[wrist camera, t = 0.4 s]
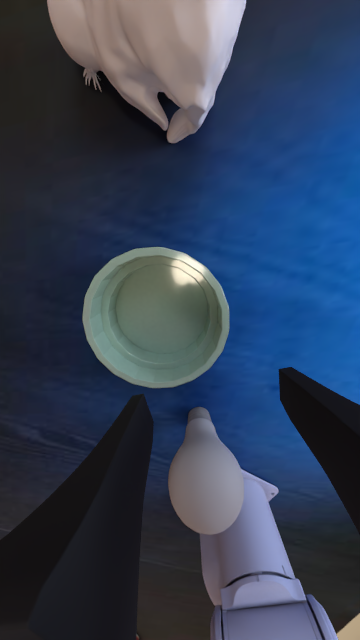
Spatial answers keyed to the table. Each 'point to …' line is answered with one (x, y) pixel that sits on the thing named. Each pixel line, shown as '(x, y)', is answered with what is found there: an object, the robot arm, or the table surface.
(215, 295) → the bowl
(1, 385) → the table surface
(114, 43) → the white crouching figurine
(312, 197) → the table surface
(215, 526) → the lightbulb
